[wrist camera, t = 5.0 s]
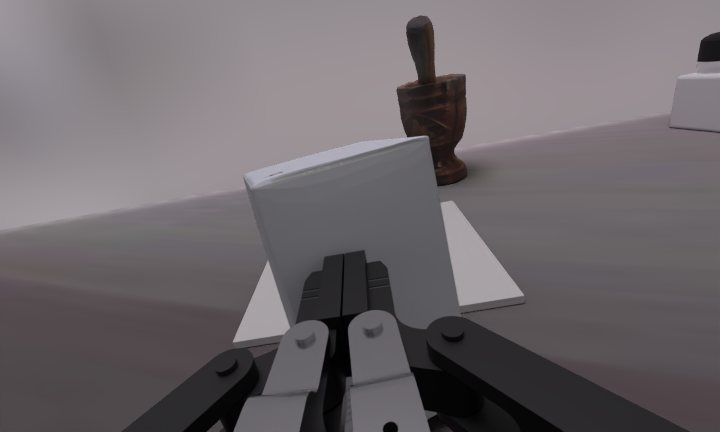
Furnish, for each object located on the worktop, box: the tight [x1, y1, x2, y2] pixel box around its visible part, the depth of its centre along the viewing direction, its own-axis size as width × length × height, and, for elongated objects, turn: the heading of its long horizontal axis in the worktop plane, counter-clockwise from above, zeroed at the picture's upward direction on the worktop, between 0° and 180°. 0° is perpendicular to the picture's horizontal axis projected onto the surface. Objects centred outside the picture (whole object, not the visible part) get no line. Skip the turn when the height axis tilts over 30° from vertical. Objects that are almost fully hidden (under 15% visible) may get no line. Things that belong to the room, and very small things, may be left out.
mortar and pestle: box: [397, 16, 467, 185], centre depth 44 cm, size 12×9×20 cm
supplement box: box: [243, 136, 461, 432], centre depth 18 cm, size 7×7×13 cm
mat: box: [233, 201, 524, 349], centre depth 32 cm, size 20×18×1 cm
